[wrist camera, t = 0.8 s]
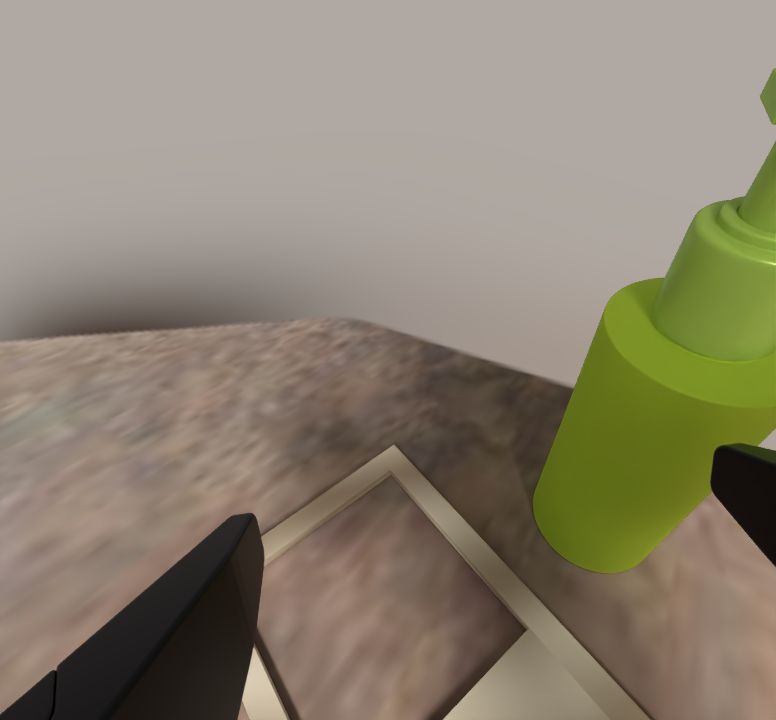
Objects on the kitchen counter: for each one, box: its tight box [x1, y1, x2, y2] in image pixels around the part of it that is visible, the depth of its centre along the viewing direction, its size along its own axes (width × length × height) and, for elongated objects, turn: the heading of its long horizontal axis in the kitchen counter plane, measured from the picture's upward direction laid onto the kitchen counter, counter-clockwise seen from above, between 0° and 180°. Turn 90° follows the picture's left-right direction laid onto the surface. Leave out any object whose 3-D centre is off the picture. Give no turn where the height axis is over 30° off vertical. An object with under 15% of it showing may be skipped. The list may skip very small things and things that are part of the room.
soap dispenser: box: [533, 68, 776, 573], centre depth 15 cm, size 6×7×20 cm
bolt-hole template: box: [242, 445, 650, 720], centre depth 18 cm, size 19×12×1 cm, turn 37°
